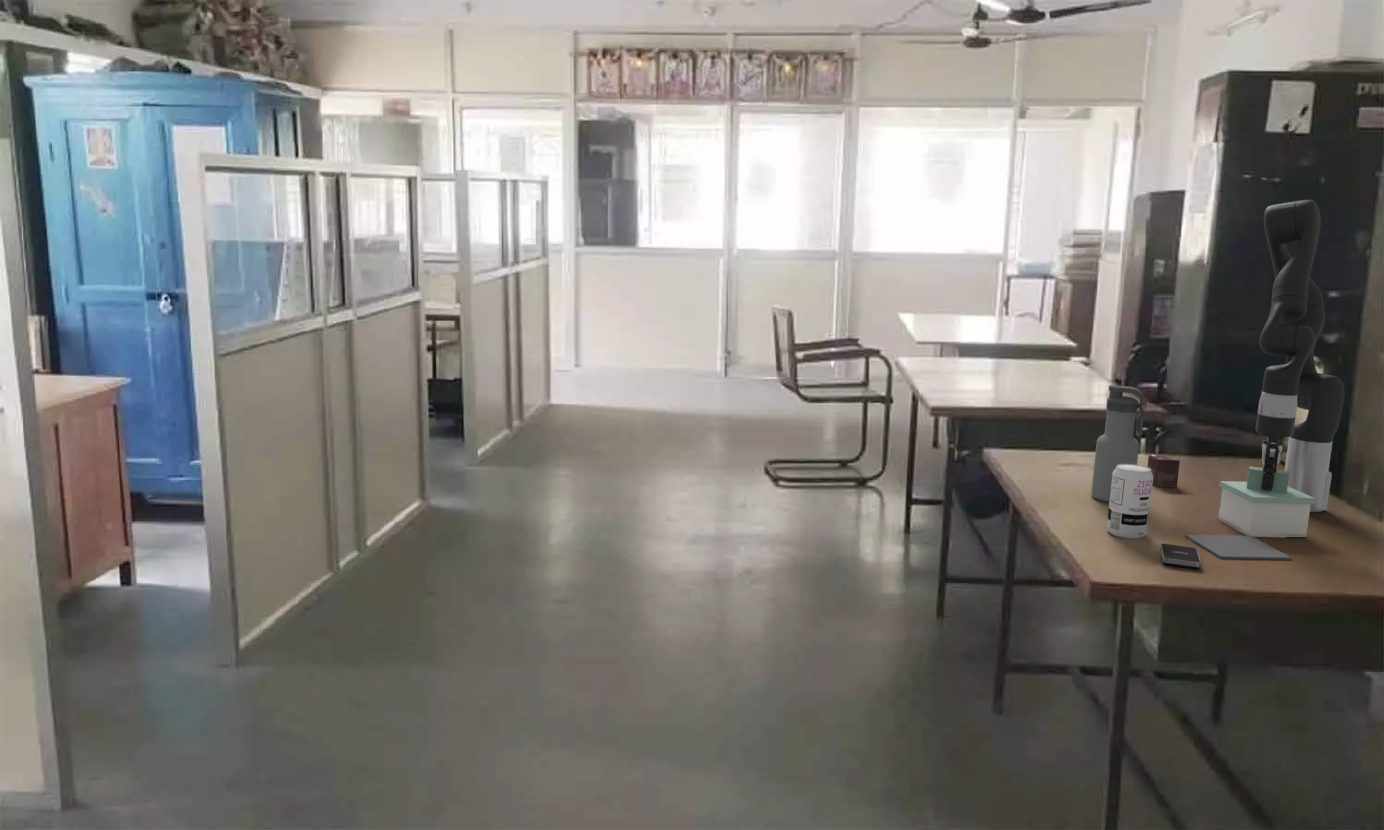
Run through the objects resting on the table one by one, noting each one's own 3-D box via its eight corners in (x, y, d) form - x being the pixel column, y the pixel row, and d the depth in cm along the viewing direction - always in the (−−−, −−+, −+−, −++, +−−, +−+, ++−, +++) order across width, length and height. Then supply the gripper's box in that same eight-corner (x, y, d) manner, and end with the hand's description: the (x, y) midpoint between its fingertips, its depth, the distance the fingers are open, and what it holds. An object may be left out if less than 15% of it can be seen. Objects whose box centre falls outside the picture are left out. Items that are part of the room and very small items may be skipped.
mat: (1251, 538, 239) (1251, 535, 239) (1291, 559, 225) (1291, 557, 225) (1184, 536, 239) (1185, 534, 239) (1220, 558, 224) (1220, 556, 224)
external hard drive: (1195, 556, 226) (1196, 547, 226) (1199, 572, 216) (1201, 563, 215) (1159, 552, 228) (1160, 542, 228) (1162, 567, 218) (1163, 558, 218)
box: (1177, 487, 283) (1180, 460, 282) (1154, 486, 283) (1157, 459, 282) (1168, 481, 289) (1171, 454, 288) (1145, 481, 289) (1148, 454, 288)
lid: (1277, 491, 253) (1281, 463, 252) (1313, 507, 239) (1318, 478, 238) (1218, 490, 252) (1222, 462, 251) (1252, 506, 239) (1256, 477, 237)
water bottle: (1132, 495, 273) (1144, 385, 268) (1136, 505, 264) (1150, 391, 258) (1089, 491, 275) (1100, 382, 270) (1092, 501, 266) (1104, 388, 261)
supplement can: (1113, 526, 245) (1120, 461, 242) (1151, 534, 240) (1159, 467, 237) (1100, 533, 239) (1108, 467, 236) (1139, 541, 234) (1147, 474, 231)
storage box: (1272, 521, 254) (1277, 487, 252) (1305, 537, 241) (1310, 502, 240) (1218, 520, 253) (1222, 486, 252) (1248, 536, 240) (1253, 501, 239)
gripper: (1296, 420, 234) (1286, 497, 237) (1295, 410, 247) (1284, 483, 250) (1257, 416, 238) (1247, 491, 241) (1258, 406, 250) (1248, 478, 253)
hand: (1266, 487), depth 245 cm, fingers open, 4 cm apart
